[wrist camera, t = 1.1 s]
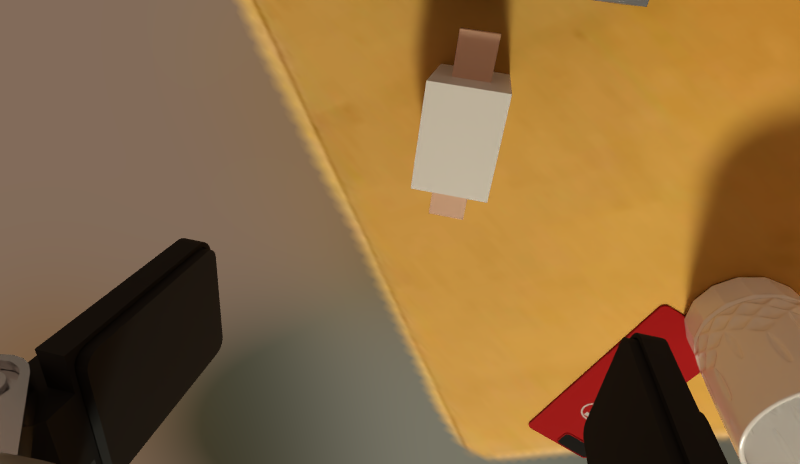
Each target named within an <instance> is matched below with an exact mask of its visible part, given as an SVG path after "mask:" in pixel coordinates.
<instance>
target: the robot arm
mask: <svg viewBox="0 0 800 464" xmlns="http://www.w3.org/2000/svg"><path fill="white" fill-rule="evenodd" d="M220 314H221V313H220V302H219V290H218V278H217V267H216V256H215V253H214V251H212V250H210V247H209V245H208V244H207V243H205V242H200V241H195V240H190V239H186V238H181V239H179V240H178V241H176V242H175V243H174V244H172V245H171V246H170V247H168V248H167V249H166V250H164V251H163V252H162V253H160V254H159V255H158V256H157V257H155V258H154V259H153V260H151V261H150V262H149V263H147V264H146V265H145V266H143V267H142V268H141V269H139V270H138V271H137V272H135V273H134V274H133V275H132V276H130V277H129V278H128V279H126V280H125V281H124V282H122V283H121V284H120V285H118V286H117V287H116V288H114V289H113V290H112V291H110V292H109V293H108V294H107V295H105V296H104V297H103V298H101V299H100V300H99V301H97V302H96V303H95V304H93V305H92V306H91V307H89V308H88V309H87V310H86V311H84V312H83V313H82V314H80V315H79V316H78V317H76V318H75V319H74V320H72V321H71V322H70V323H68V324H67V325H66V326H64V327H63V328H62V329H61V330H59V331H58V332H57V333H55V334H54V335H53V336H51V337H50V338H49V339H48V340H46V341H45V342H43V343H42V344H41V345H40V346H38V347H37V348H36V349H35V351H36V354H37V356H36V357H34V358H33V359H32V360H31V361H29V362H26V360H24V358H21V357H18V356H15V355H5V354H0V464H129V463H130V462H131V461H132V460H133V458H134V457H135V456H136V455H137V453H138V452H139V451H140V450H141V448H142V447H143V446H144V445H145V443H146V442H147V441H148V440H149V438H150V437H151V436H152V435H153V433H154V432H155V431H156V430H157V428H158V427H159V426H160V424H161V423H162V422H163V421H164V419H165V418H166V417H167V416H168V415H169V413H170V412H171V411H172V409H173V408H174V407H175V406H176V404H177V403H178V402H179V401H180V399H181V398H182V397H183V396H184V394H185V393H186V392H187V391H188V389H189V388H190V387H191V385H192V384H193V383H194V382H195V381H196V379H197V378H198V377H199V376H200V374H201V373H202V372H203V370H204V369H205V368H206V367H207V365H208V364H209V363H210V362H211V360H212V359H213V358H214V357H215V355H216V354H217V353H218V351H219V349H220V347H221V344H222V325H221V315H220ZM583 439H584V446H585V452H586V457H587V463H588V464H728V463H727V460H726V458H725V456H724V454H723V452H722V450H721V448H720V446H719V443H718V441H717V439H716V437H715V435H714V433H713V431H712V429H711V426H710V424H709V422H708V420H707V419H706V417H705V416H704V414H703V413H701V412H700V411H699V409H698V407H697V405H696V403H695V401H694V399H693V396H692V394H691V392H690V390H689V388H688V386H687V383H686V381H685V379H684V377H683V375H682V373H681V370H680V368H679V366H678V364H677V362H676V360H675V357H674V355H673V353H672V351H671V349H670V347H669V344H668V342H667V341H666V339H664V338H660V337H655V336H651V335H646V334H641V333H634V334H633V335H632V336H631V337H630V338H627V337H624V338H623V339H622V340H621V342H620V344H619V346H618V348H617V351H616V353H615V355H614V357H613V360H612V362H611V364H610V367H609V369H608V371H607V374H606V376H605V378H604V380H603V383H602V385H601V387H600V390H599V392H598V394H597V397H596V399H595V401H594V403H593V406H592V408H591V410H590V413H589V415H588V417H587V420H586V422H585V425H584V431H583Z"/></svg>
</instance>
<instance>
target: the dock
mask: <svg viewBox="0 0 800 464" xmlns="http://www.w3.org/2000/svg"><path fill="white" fill-rule="evenodd" d="M595 1H603V2H610V3H617V4H625V5H634V6H644V7H647V4H648V1H649V0H595Z"/></svg>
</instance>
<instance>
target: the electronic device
mask: <svg viewBox="0 0 800 464" xmlns="http://www.w3.org/2000/svg"><path fill="white" fill-rule="evenodd" d="M684 319H685V316H684V315H683V314H681V313H679V312H678V311H676V310H674V309H673V308H671V307H670V306H667V305H662V306H660V307H658V308H657V309H656V310H655V311H654V312H653V313H652V314H650V315H649V316H648V317H647V318H646V319H645V320H644V321H643V322H641V323H640V324H639V325H638V326H637V327H636V328H635V329H634V330H632V331H631V332H630V333H629V334H628V335H627V336H626V337H627V338H630V337H631V336H632V335H633V334H634V333H641V334H646V335H651V336H655V337H660V338H664V339H666V341H667V342H668V344H669V347H670V349H671V351H672V353H673V355H674V357H675V360H676V362H677V364H678V366H679V368H680V370H681V373H682V375H683V377H684V379H685V381H686V382H688V381H689V380H690V379H692V378H693V377H694V376H696V375H697V374H698V373H700V370H699V367H698V365H697V361H696V358H695V355H694V353H693V351H692V349H691V347H690V345H689V342H688V340H687V338H686V331H685V323H684ZM620 342H621V341H620ZM620 342H619V343H618V344H617V345H616V346H614V347H613V348H612V349H611V350H610V351H609V352H608V353H607V354H605V355H604V356H603V357H602V358H601V359H600V360H599V361H598V362H596V363H595V364H594V365H593V366H592V367H591V368H590V369H589V370H587V371H586V372H585V373H584V374H583V375H582V376H581V377H580V378H578V379H577V380H576V381H575V382H574V383H573V384H572V385H571V386H569V387H568V388H567V389H566V390H565V391H564V392H563V393H562V394H560V395H559V396H558V397H557V398H556V399H555V400H554V401H553V402H551V403H550V404H549V405H548V406H547V407H546V408H545V409H544V410H542V411H541V412H540V413H539V414H538V415H537V416H536V417H535V418H533V419H532V420H531V421H530V422H529V427H530V428H532V429H533V430H535V431H537V432H539V433H540V434H542V435H544V436H546V437H547V438H549V439H551V440H553V441H554V442H556V443H558V444H560V445H561V446H563V447H565V448H567V449H568V450H570V451H572V452H574V453H575V454H577V455H579V456H581V457H583V458H587V457H586V452H585V446H584V439H583V431H584V425H585V422H586V420H587V417H588V415H589V413H590V410H591V408H592V406H593V403H594V401H595V399H596V397H597V394H598V392H599V390H600V387H601V385H602V383H603V380H604V378H605V376H606V374H607V371H608V369H609V367H610V364H611V362H612V360H613V357H614V355H615V353H616V351H617V348H618V346H619V344H620Z"/></svg>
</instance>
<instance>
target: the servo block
mask: <svg viewBox="0 0 800 464" xmlns="http://www.w3.org/2000/svg"><path fill="white" fill-rule="evenodd" d="M500 38H501V33H494V32H487V31H481V30H474V29H467V28H460V31H459V37H458V43H457V49H456V55H455V61H454V66H453V65H446V64H440V65H439V66H438V67H437V69H436V70H435V71H434V72H433V73H432V75H431V76H430V77H429V78H428V79H427V80H426V87H425V94H424V101H423V108H422V115H421V122H420V129H419V135H418V142H417V149H416V156H415V163H414V170H413V177H412V184H411V188H412V189H417V190H422V191H428V192H432V198H431V204H430V210H429V213H431V214H436V215H441V216H446V217H451V218H457V219H462V220H463V216H464V212H465V207H466V202H467V199H470V200H475V201H481V202H486V203H487V201H488V196H489V192H490V188H491V183H492V179H493V175H494V170H495V166H496V161H497V157H498V153H499V148H500V144H501V140H502V135H503V131H504V127H505V122H506V118H507V114H508V109H509V105H510V101H511V96H512V90H511V80H510V74H504V73H497V72H493V71H494V67H495V62H496V57H497V52H498V47H499V42H500Z"/></svg>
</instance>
